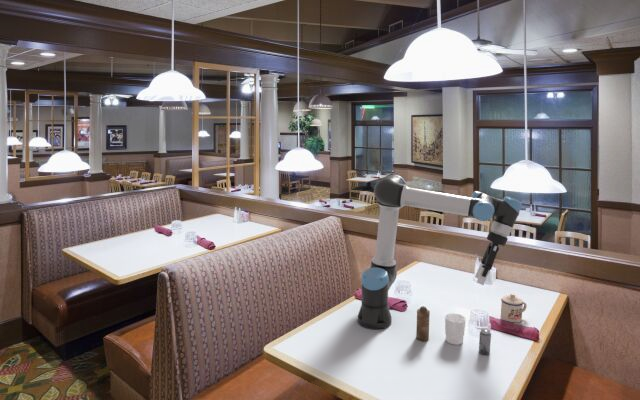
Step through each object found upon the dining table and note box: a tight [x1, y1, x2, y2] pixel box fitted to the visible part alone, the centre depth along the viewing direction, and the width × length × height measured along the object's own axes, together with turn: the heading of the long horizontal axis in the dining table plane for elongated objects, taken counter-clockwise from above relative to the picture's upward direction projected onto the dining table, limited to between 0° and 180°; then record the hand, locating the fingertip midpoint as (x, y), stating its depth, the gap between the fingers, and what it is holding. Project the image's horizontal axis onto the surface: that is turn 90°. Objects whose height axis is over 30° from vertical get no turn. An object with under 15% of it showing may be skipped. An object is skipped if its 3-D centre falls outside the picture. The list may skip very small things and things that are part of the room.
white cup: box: [444, 313, 467, 346], centre depth 169 cm, size 8×8×10 cm
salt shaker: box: [478, 328, 492, 356], centre depth 160 cm, size 4×4×9 cm
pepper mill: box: [415, 305, 431, 342], centre depth 171 cm, size 5×5×14 cm
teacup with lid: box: [500, 293, 528, 324], centre depth 187 cm, size 12×9×12 cm
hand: (478, 281), depth 174 cm, fingers open, 13 cm apart
